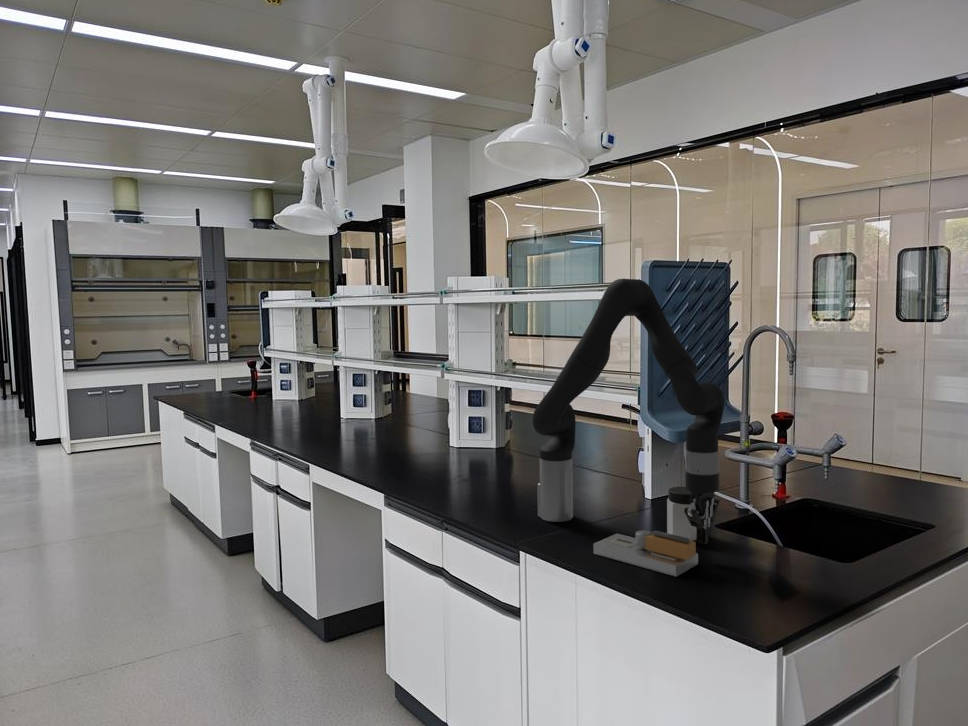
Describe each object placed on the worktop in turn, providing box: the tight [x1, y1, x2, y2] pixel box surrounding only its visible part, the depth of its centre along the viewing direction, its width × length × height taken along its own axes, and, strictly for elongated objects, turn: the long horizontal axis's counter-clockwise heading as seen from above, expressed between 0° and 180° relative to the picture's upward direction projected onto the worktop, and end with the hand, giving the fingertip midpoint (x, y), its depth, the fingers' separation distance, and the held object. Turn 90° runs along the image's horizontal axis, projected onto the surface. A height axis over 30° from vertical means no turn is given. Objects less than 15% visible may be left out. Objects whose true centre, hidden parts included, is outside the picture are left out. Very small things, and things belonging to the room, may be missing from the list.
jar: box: [666, 486, 696, 542], centre depth 177 cm, size 9×8×12 cm
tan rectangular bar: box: [635, 529, 697, 560], centre depth 158 cm, size 14×4×4 cm, turn 45°
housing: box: [593, 533, 699, 578], centre depth 162 cm, size 22×10×3 cm, turn 45°
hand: (702, 542), depth 160 cm, fingers closed
